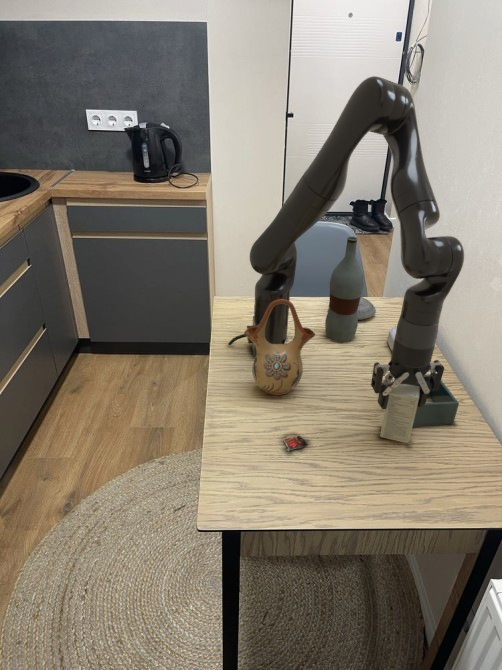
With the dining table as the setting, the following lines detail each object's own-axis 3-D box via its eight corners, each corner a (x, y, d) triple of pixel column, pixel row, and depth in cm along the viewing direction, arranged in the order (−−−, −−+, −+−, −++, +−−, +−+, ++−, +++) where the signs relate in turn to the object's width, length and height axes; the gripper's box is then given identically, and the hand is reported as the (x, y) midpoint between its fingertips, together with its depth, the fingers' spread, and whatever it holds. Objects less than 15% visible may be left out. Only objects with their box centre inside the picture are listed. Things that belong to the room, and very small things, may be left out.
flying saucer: (365, 327, 152) (367, 311, 149) (320, 315, 158) (322, 299, 156) (381, 309, 163) (384, 294, 160) (339, 298, 170) (341, 283, 167)
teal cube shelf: (409, 426, 111) (414, 405, 108) (391, 396, 121) (395, 376, 118) (453, 424, 112) (459, 403, 109) (431, 394, 122) (437, 374, 119)
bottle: (360, 334, 148) (375, 237, 133) (348, 347, 141) (362, 246, 126) (331, 325, 152) (342, 230, 138) (318, 337, 145) (329, 239, 131)
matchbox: (309, 444, 105) (310, 443, 105) (291, 454, 102) (291, 452, 102) (295, 432, 108) (295, 431, 108) (277, 441, 106) (277, 439, 105)
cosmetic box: (410, 431, 109) (421, 386, 102) (408, 444, 105) (420, 398, 99) (380, 424, 110) (390, 379, 104) (378, 437, 107) (388, 391, 101)
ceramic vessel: (307, 380, 126) (316, 290, 114) (311, 402, 118) (321, 308, 106) (243, 379, 126) (244, 289, 113) (242, 401, 118) (244, 306, 106)
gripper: (442, 327, 100) (425, 394, 108) (373, 329, 98) (361, 396, 106) (459, 346, 93) (440, 415, 101) (386, 349, 92) (373, 419, 100)
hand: (400, 406), depth 104 cm, fingers closed on cosmetic box, 7 cm apart
